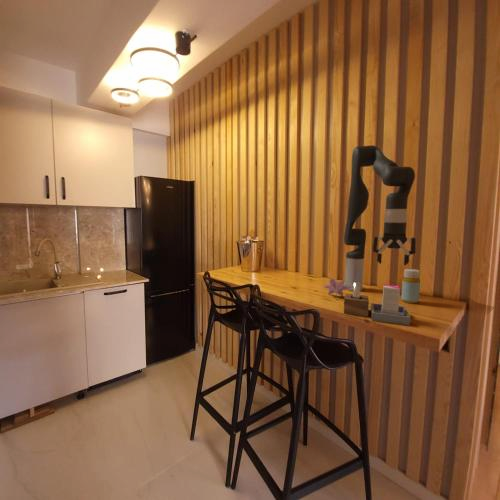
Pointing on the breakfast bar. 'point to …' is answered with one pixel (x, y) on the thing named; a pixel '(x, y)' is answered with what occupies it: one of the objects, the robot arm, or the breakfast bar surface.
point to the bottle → (411, 286)
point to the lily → (336, 287)
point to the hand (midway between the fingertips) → (392, 264)
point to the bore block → (356, 305)
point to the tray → (388, 318)
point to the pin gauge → (356, 290)
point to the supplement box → (390, 299)
